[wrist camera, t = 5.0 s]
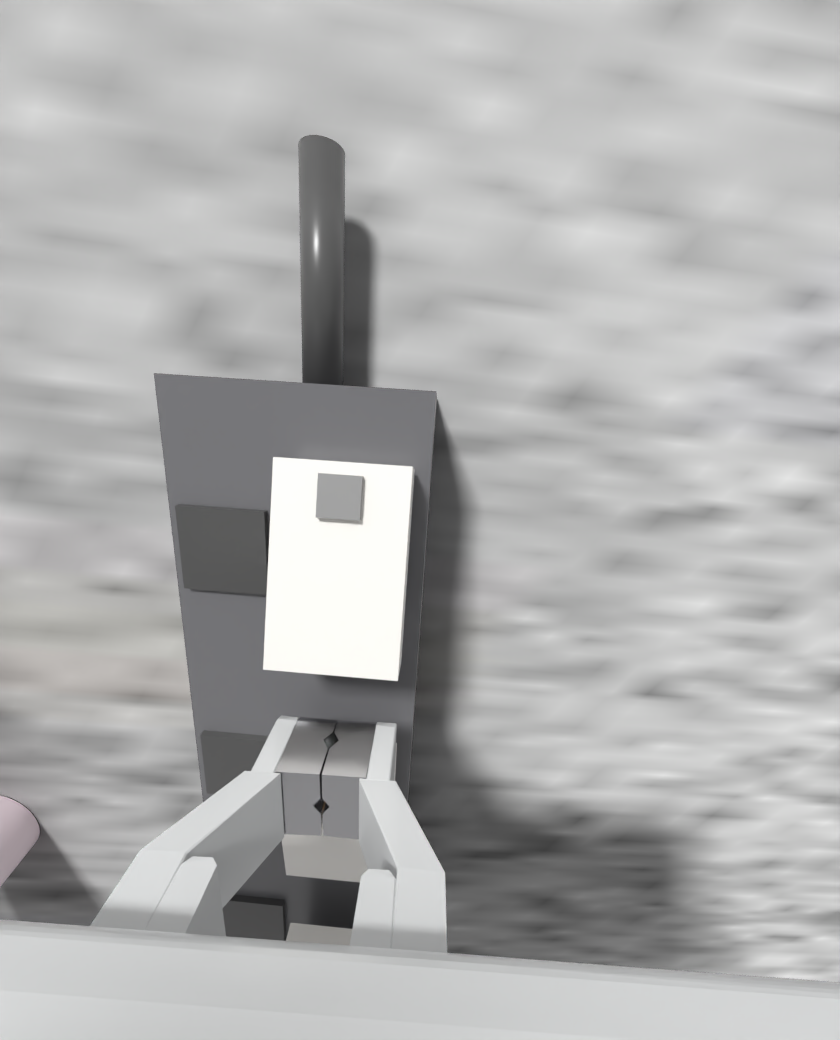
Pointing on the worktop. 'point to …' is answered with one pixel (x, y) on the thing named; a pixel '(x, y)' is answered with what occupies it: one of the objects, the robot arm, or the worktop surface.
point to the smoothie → (15, 835)
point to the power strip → (245, 543)
